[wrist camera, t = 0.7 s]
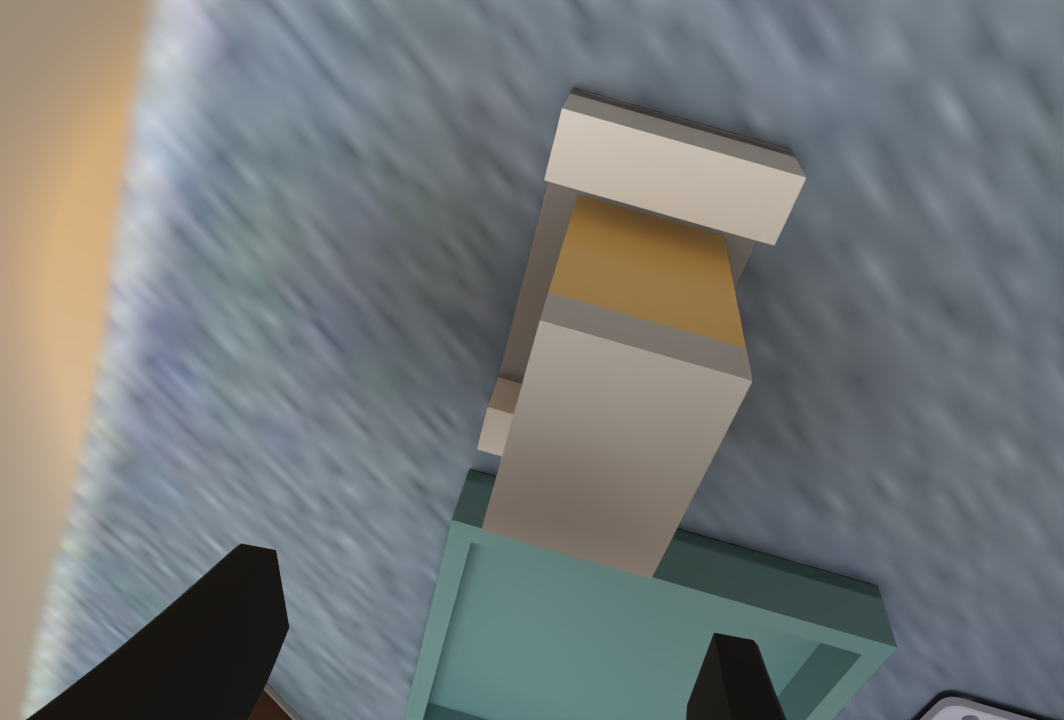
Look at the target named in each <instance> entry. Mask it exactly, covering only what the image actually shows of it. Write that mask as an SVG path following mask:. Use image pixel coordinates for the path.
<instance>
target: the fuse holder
mask: <svg viewBox="0 0 1064 720" xmlns="http://www.w3.org/2000/svg"><path fill="white" fill-rule="evenodd" d="M544 180H545V181H548V182H547V186H546V190H545V194H544V198H543V202H542V206H541V210H540V214H539V218H538V222H537V225H536V229H535V233H534V237H533V241H532V245H531V249H530V253H529V257H528V261H527V265H526V269H525V273H524V277H523V281H522V285H521V289H520V293H519V297H518V301H517V305H516V309H515V312H514V316H513V320H512V324H511V328H510V332H509V336H508V340H507V344H506V348H505V352H504V356H503V360H502V364H501V368H500V372H499V376H498V379H497V382H496V385H495V387H494V390H493V393H492V396H491V399H490V401H489V404H488V407H487V411H486V415H485V419H484V423H483V427H482V431H481V435H480V439H479V443H478V447H477V449H478V450H481V451H485V452H488V453H492V454H495V455H499V456H502V454H503V451H504V447H505V444H506V440H507V436H508V433H509V429H510V426H511V422H512V419H513V415H514V411H515V408H516V404H517V401H518V397H519V394H520V390H521V386H522V383H523V379H524V376H525V372H526V368H527V365H528V361H529V358H530V354H531V351H532V347H533V343H534V340H535V336H536V333H537V329H538V325H539V322H540V318H541V315H542V312H543V308H544V305H545V302H546V299H547V295H548V292H549V289H550V285H551V282H552V279H553V275H554V272H555V269H556V265H557V262H558V259H559V255H560V252H561V249H562V245H563V242H564V239H565V236H566V232H567V229H568V226H569V222H570V219H571V216H572V212H573V209H574V206H575V202H576V199H577V196H578V195H581V196H584V197H588V198H591V199H595V200H598V201H602V202H605V203H609V204H612V205H616V206H619V207H623V208H626V209H630V210H633V211H637V212H640V213H644V214H648V215H651V216H655V217H658V218H662V219H665V220H669V221H672V222H676V223H679V224H683V225H686V226H690V227H693V228H697V229H700V230H704V231H707V232H711V233H714V234H718V235H721V236H724V239H725V244H726V249H727V254H728V259H729V264H730V269H731V274H732V279H733V284H734V289H736V286H737V284H738V282H739V280H740V278H741V275H742V273H743V271H744V269H745V267H746V264H747V262H748V260H749V258H750V256H751V253H752V251H753V249H754V247H755V244H756V242H757V241H760V242H763V243H767V244H770V245H774V246H775V244H776V241H777V239H778V237H779V235H780V233H781V231H782V229H783V227H784V224H785V222H786V220H787V218H788V216H789V214H790V212H791V210H792V207H793V205H794V203H795V201H796V199H797V197H798V195H799V193H800V190H801V188H802V186H803V184H804V182H805V180H806V176H805V174H804V172H803V171H802V169H801V167H800V165H799V163H798V162H797V160H796V158H795V156H794V155H793V153H792V151H791V149H787V148H784V147H780V146H777V145H773V144H770V143H766V142H762V141H759V140H755V139H752V138H748V137H745V136H741V135H738V134H734V133H731V132H727V131H724V130H720V129H717V128H713V127H710V126H706V125H703V124H699V123H695V122H692V121H688V120H685V119H681V118H678V117H674V116H671V115H667V114H664V113H660V112H657V111H653V110H650V109H646V108H643V107H639V106H636V105H632V104H628V103H625V102H621V101H618V100H614V99H611V98H607V97H604V96H600V95H597V94H593V93H590V92H586V91H583V90H579V89H576V88H572V90H571V92H570V94H569V96H568V98H567V100H566V102H565V104H564V106H563V108H562V111H561V115H560V119H559V123H558V127H557V131H556V135H555V139H554V143H553V147H552V151H551V155H550V159H549V163H548V167H547V171H546V175H545V179H544Z"/></svg>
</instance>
